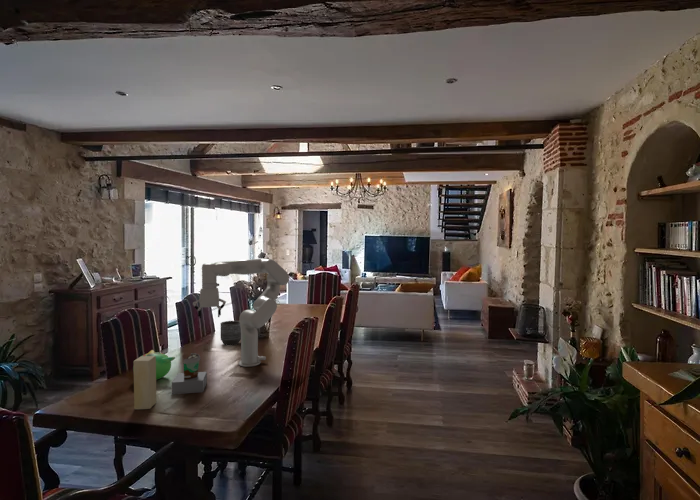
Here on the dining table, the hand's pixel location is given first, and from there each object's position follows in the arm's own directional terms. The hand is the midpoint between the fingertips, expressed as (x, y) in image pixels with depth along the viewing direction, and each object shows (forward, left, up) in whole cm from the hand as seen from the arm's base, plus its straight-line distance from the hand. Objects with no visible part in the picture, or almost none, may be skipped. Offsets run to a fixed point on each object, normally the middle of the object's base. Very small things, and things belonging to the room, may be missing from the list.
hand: (209, 317), depth 234 cm
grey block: (+9, +23, -31) cm, 40 cm away
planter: (-14, -63, -31) cm, 71 cm away
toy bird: (+28, +4, -31) cm, 42 cm away
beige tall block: (+27, +41, -31) cm, 58 cm away
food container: (+8, +23, -25) cm, 35 cm away
